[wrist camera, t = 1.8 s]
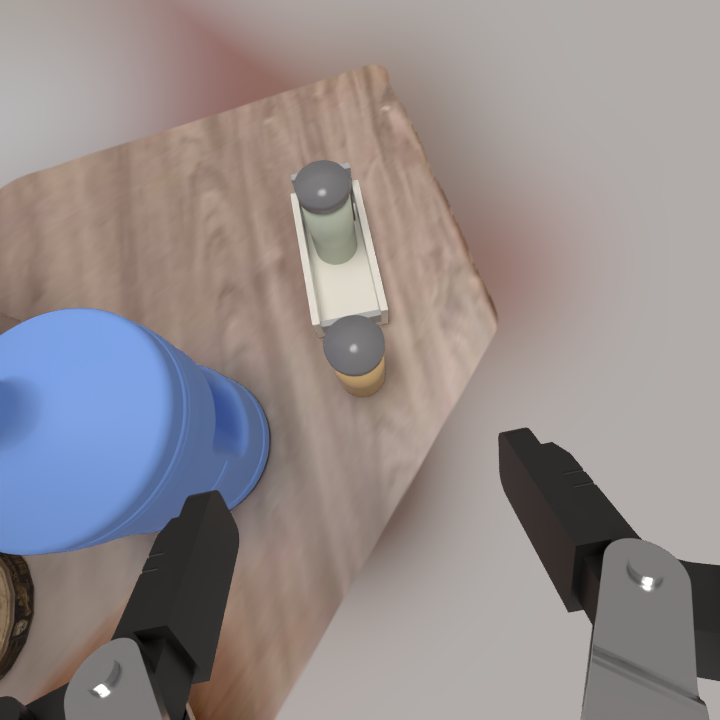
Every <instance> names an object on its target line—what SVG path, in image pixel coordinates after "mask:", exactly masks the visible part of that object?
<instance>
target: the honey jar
mask: <svg viewBox="0 0 720 720" xmlns="http://www.w3.org/2000/svg"><path fill="white" fill-rule="evenodd" d="M323 348H324V353H325V356H326V358H327V360H328V362H329V363H330V365H331V366H332V367H333V369H334V370H335V372H336V374H337V376H338V378H339V380H340V382H341V384H342V385H343V387H344V388H345V390H346V391H347V392H349V393H350V394H352V395H354V396H358V397H367V396H370V395H373V394H374V393H376V392H377V391H378V390H379V389H380V388H381V387H382V385H383V383H384V380H385V362H384V351H385V343H384V336H383V333H382V331H381V329H380V327H379V326H378V325H377V324H376V323H375V322H374V321H373V320H371V319H369V318H367V317H365V316H361V315H349V316H345V317H342V318H340V319H338V320H337V321H335V322H334V323H333V324H332V325H331V326H330V327H329V329H328V330H327V332H326V334H325V337H324V342H323Z"/></svg>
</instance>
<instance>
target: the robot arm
mask: <svg viewBox="0 0 720 720" xmlns="http://www.w3.org/2000/svg"><path fill="white" fill-rule="evenodd" d="M20 323H22V322H21V321H19V320H17V319H14V318H12V317H9V316H7V315H5V314H2V313H0V335H2V334H3V333H5V332H6V331H8V330H9V329H11V328H13V327H15V326H16V325H18V324H20ZM498 441H499V472H500V478H501V483H502V486H503V489H504V492H505V494H506V496H507V498H508V499H509V502H510V503H511V505H512V507H513V509H514V511H515V513H516V515H517V516H518V519H519V520H520V522H521V524H522V526H523V528H524V530H525V531H526V534H527V536H528V537H529V539H530V541H531V543H532V545H533V547H534V549H535V550H536V552H537V554H538V556H539V558H540V560H541V562H542V564H543V566H544V567H545V569H546V571H547V573H548V575H549V577H550V579H551V580H552V582H553V584H554V586H555V588H556V590H557V592H558V594H559V595H560V597H561V599H562V601H563V603H564V605H565V607H566V609H567V611H568V612H574V611H579V610H584V611H585V613H586V614H587V616H588V618H589V620H590V621H591V623H592V632H591V640H590V648H589V657H588V665H587V672H586V682H585V688H584V697H583V704H582V712H581V720H709V715H708V711H707V707H706V704H705V702H704V701H702V700H701V699H700V697H699V694H698V688H697V677H700V678H705V679H711V680H716V681H720V565H710V564H701V563H692V562H687V561H683V560H679V559H676V558H675V557H674V556H673V555H672V554H670V553H669V552H668V551H666V550H665V549H663V548H661V547H660V546H657V545H655V544H653V543H651V542H647V541H644V540H642V539H641V538H640V537H639V536H638V535H637V534H636V533H635V531H634V530H633V529H632V528H631V527H630V525H629V524H628V523H627V522H626V521H625V519H624V518H623V517H622V516H621V515H620V513H619V512H618V511H617V510H616V508H615V507H614V506H613V505H612V503H611V502H610V501H609V500H608V499H607V497H606V496H605V495H604V494H603V492H602V491H601V490H600V489H599V488H598V487H597V485H594V483H593V480H592V479H591V478H590V477H589V475H588V474H587V473H586V472H584V471H583V468H582V467H581V466H580V465H579V463H578V462H577V461H576V460H575V459H574V457H573V456H572V455H571V454H570V453H569V452H567V451H566V450H564V449H562V448H561V447H559V446H557V445H556V444H554V443H553V442H550V443H545V444H540V442H539V441H538V440H537V438H536V437H535V436H534V434H533V433H532V432H531V430H530V429H529V428H521V429H516V430H511V431H507V432H502V433H499V437H498ZM238 548H239V533H238V528H237V525H236V523H235V521H234V519H233V517H232V515H231V513H230V511H229V509H228V507H227V505H226V503H225V501H224V499H223V497H222V495H221V493H220V492H219V491H218V490H212V491H208V492H203V493H198V494H193V495H189V496H188V497H187V498H186V500H185V503H184V505H183V508H182V510H181V512H180V515H179V517H176V518H171V520H170V521H169V522H168V523H167V525H166V526H165V527H164V528H163V529H162V531H161V532H160V533H159V534H158V536H157V538H156V540H155V542H154V544H153V547H152V549H151V551H150V553H149V558H147V560H146V563H145V565H144V567H143V569H142V574H140V576H139V578H138V581H137V583H136V585H135V588H134V590H133V592H132V594H131V597H130V599H129V601H128V603H127V606H126V608H125V610H124V613H123V615H122V617H121V619H120V622H119V624H118V626H117V629H116V631H115V633H114V635H113V637H112V639H111V641H110V642H108V643H106V644H104V645H102V646H101V647H100V648H98V649H97V650H95V651H94V652H93V653H92V654H91V655H90V656H89V657H88V658H87V659H86V660H85V661H84V662H83V663H82V664H81V666H80V667H79V668H78V670H77V671H76V672H75V674H74V676H73V677H72V679H71V681H70V682H69V683H67V684H65V685H63V686H62V687H60V688H58V689H56V690H54V691H52V692H50V693H48V694H46V695H44V696H43V697H41V698H39V699H37V700H35V701H33V702H31V703H29V704H27V705H26V706H24V705H23V704H22V703H20V702H19V701H18V700H17V699H15V698H13V697H9V696H5V697H0V720H195V718H194V715H193V712H192V710H191V707H190V706H189V704H188V702H187V700H188V696H189V692H190V688H191V684H195V683H200V682H205V681H210V676H211V672H212V667H213V662H214V658H215V653H216V649H217V644H218V640H219V635H220V630H221V626H222V621H223V617H224V612H225V608H226V603H227V598H228V594H229V589H230V585H231V580H232V576H233V571H234V567H235V562H236V557H237V553H238Z"/></svg>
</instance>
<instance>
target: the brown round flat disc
mask: <svg viewBox="0 0 720 720" xmlns="http://www.w3.org/2000/svg"><path fill="white" fill-rule="evenodd" d="M33 615H34V585H33V582H32V578H31V575H30V571H29V568H28V565H27V563H26V562H25V560H24V559H23V558H22V556H21V555H14V554H7V553H2V552H0V680H1V679H2V678H3V677H4V676H5V674H6V673H7V672H8V671H9V670H10V669H11V668H12V666H13V664H14V662H15V660H16V659H17V657H18V655H19V653H20V652H21V650H22V648H23V646H24V644H25V643H26V639H27V636H28V632H29V629H30V625H31V622H32V618H33Z"/></svg>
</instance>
